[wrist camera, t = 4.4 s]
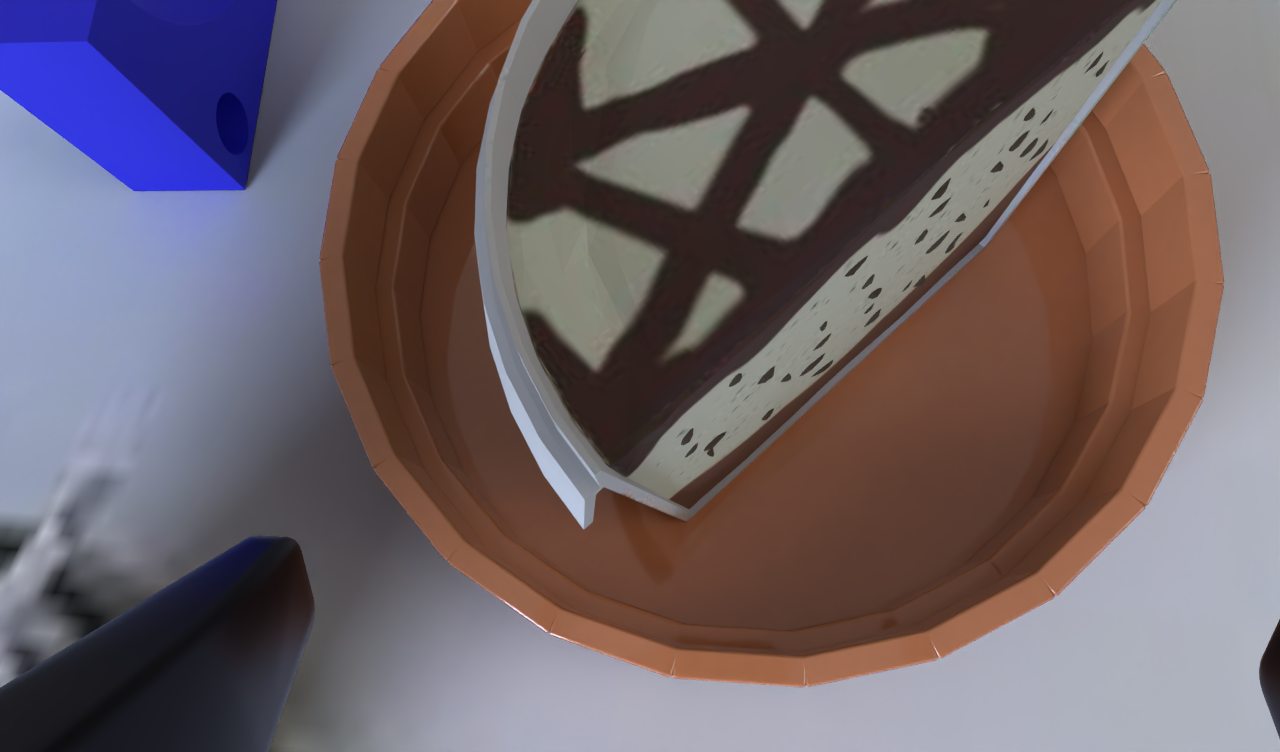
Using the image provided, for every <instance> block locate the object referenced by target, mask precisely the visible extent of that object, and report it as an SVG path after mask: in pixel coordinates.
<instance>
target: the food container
mask: <svg viewBox="0 0 1280 752" xmlns="http://www.w3.org/2000/svg"><path fill="white" fill-rule="evenodd" d="M1175 2H1176V0H532V2H531V4H530V5H529V7H528V9H527V11H526V12H525V14H524V16H523V17H522V19H521V22H520V24H519V27H518V29H517V32H516V35H515V37H514V40H513V42H512V45H511V48H510V50H509V53H508V55H507V58H506V61H505V63H504V66H503V69H502V71H501V74H500V76H499V79H498V83H497V86H496V89H495V91H494V94H493V97H492V99H491V102H490V105H489V109H488V114H487V119H486V124H485V129H484V134H483V139H482V144H481V149H480V153H479V158H478V163H477V170H476V200H475V231H474V236H475V243H476V251H477V259H478V267H479V275H480V283H481V290H482V297H483V303H484V310H485V317H486V324H487V331H488V337H489V344H490V349H491V352H492V355H493V358H494V361H495V364H496V367H497V370H498V373H499V376H500V380H501V383H502V386H503V389H504V392H505V395H506V398H507V401H508V404H509V407H510V411H511V413H512V415H513V417H514V419H515V421H516V423H517V425H518V427H519V428H520V430H521V432H522V434H523V436H524V438H525V440H526V442H527V444H528V446H529V448H530V450H531V452H532V454H533V456H534V457H535V459H536V461H537V463H538V465H539V467H540V469H541V471H542V473H543V475H544V476H545V478H546V479H547V481H548V482H549V483H550V485H551V486H552V487H553V489H554V490H555V491H556V493H557V494H558V495H559V497H560V498H561V500H562V501H563V502H564V504H565V505H566V506H567V508H568V509H569V510H570V512H571V513H572V514H573V516H574V517H575V519H576V520H577V521H578V523H579V524H580V525H581V527H582V528H583V529H585V528H586V527H588V526H589V525H590V524H591V523H592V522H593V517H594V508H595V499H596V494H597V493H598V492H599V491H600V490H601V489H602V488H603V487H605V488H607V489H610V490H612V491H614V492H617V493H619V494H621V495H624V496H626V497H629V498H631V499H633V500H636V501H638V502H640V503H643V504H645V505H647V506H650V507H652V508H655V509H657V510H659V511H662V512H664V513H666V514H669V515H671V516H673V517H676V518H678V519H680V520H683V521H685V522H687V521H688V520H689V519H691V518H692V517H693V516H694V515H695V514H696V513H697V512H698V511H699V510H700V509H701V508H703V507H704V506H705V505H706V504H707V503H708V502H709V501H710V500H711V499H712V498H713V497H714V496H716V495H717V494H718V493H719V492H720V491H721V490H722V489H723V488H724V487H725V486H726V485H728V484H729V483H730V482H731V481H732V480H733V479H734V478H735V477H736V476H737V475H738V474H739V473H741V472H742V471H743V470H744V469H745V468H746V467H747V466H748V465H749V464H750V463H751V462H753V461H754V460H755V459H756V458H757V457H758V456H759V455H760V454H761V453H762V452H763V451H765V450H766V449H767V448H768V447H769V446H770V445H771V444H772V443H773V442H774V441H775V440H776V439H778V438H779V437H780V436H781V435H782V434H783V433H784V432H785V431H786V430H787V429H788V428H790V427H791V426H792V425H793V424H794V423H795V422H796V421H797V420H798V419H799V418H800V417H801V416H803V415H804V414H805V413H806V412H807V411H808V410H809V409H810V408H811V407H812V406H813V405H815V404H816V403H817V402H818V401H819V400H820V399H821V398H822V397H823V396H824V395H825V394H826V393H828V392H829V391H830V390H831V389H832V388H833V387H834V386H835V385H836V384H837V383H838V382H840V381H841V380H842V379H843V378H844V377H845V376H846V375H847V374H848V373H849V372H850V371H851V370H853V369H854V368H855V367H856V366H857V365H858V364H859V363H860V362H861V361H862V360H863V359H865V358H866V357H867V356H868V355H869V354H870V353H871V352H872V351H873V350H874V349H875V348H876V347H878V346H879V345H880V344H881V343H882V342H883V341H884V340H885V339H886V338H887V337H888V336H890V335H891V334H892V333H893V332H894V331H895V330H896V329H897V328H898V327H899V326H900V325H901V324H903V323H904V322H905V321H906V320H907V319H908V318H909V317H910V316H911V315H912V314H913V313H915V312H916V311H917V310H918V309H919V308H920V307H921V306H922V305H923V304H924V303H925V302H926V301H928V300H929V299H930V298H931V297H932V296H933V295H934V294H935V293H936V292H937V291H938V290H940V289H941V288H942V287H943V286H944V285H945V284H946V283H947V282H948V281H949V280H950V279H952V278H953V277H954V276H955V275H956V274H957V273H958V272H959V271H960V270H961V269H962V268H963V267H965V266H966V265H967V264H968V263H969V262H970V261H971V260H972V259H973V258H974V257H975V256H977V255H978V254H979V253H980V252H981V251H982V250H983V249H984V248H985V247H986V246H987V245H988V244H989V243H990V241H991V240H992V239H993V238H994V236H995V235H996V234H997V232H998V231H999V230H1000V228H1001V227H1002V226H1003V225H1004V223H1005V222H1006V221H1007V219H1008V218H1009V217H1010V215H1011V214H1012V213H1013V212H1014V210H1015V209H1016V208H1017V206H1018V205H1019V204H1020V203H1021V201H1022V200H1023V199H1024V197H1025V196H1026V195H1027V193H1028V192H1029V191H1030V190H1031V188H1032V187H1033V186H1034V184H1035V183H1036V182H1037V180H1038V179H1039V178H1040V177H1041V175H1042V174H1043V173H1044V171H1045V170H1046V169H1047V168H1048V166H1049V165H1050V164H1051V162H1052V161H1053V160H1054V158H1055V157H1056V156H1057V155H1058V153H1059V152H1060V151H1061V149H1062V148H1063V147H1064V145H1065V144H1066V143H1067V142H1068V140H1069V139H1070V138H1071V136H1072V135H1073V134H1074V133H1075V131H1076V130H1077V129H1078V127H1079V126H1080V125H1081V123H1082V122H1083V121H1084V120H1085V118H1086V117H1087V116H1088V114H1089V113H1090V112H1091V110H1092V109H1093V108H1094V107H1095V105H1096V104H1097V103H1098V101H1099V100H1100V99H1101V98H1102V96H1103V95H1104V94H1105V92H1106V91H1107V90H1108V88H1109V87H1110V86H1111V85H1112V83H1113V82H1114V81H1115V79H1116V78H1117V77H1118V75H1119V74H1120V73H1121V72H1122V70H1123V69H1124V68H1125V66H1126V65H1127V64H1128V63H1129V61H1130V60H1131V59H1132V57H1133V56H1134V55H1135V53H1136V52H1137V51H1138V50H1139V48H1140V47H1141V46H1142V44H1143V43H1144V42H1145V40H1146V39H1147V38H1148V37H1149V35H1150V34H1151V33H1152V31H1153V30H1154V29H1155V28H1156V26H1157V25H1158V24H1159V22H1160V21H1161V20H1162V18H1163V17H1164V16H1165V15H1166V13H1167V12H1168V11H1169V9H1170V8H1171V7H1172V5H1173V4H1174V3H1175Z"/></svg>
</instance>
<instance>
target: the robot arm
mask: <svg viewBox="0 0 1280 752" xmlns="http://www.w3.org/2000/svg"><path fill="white" fill-rule="evenodd" d="M314 610H315V608H314V598H313V594H312V590H311V586H310V582H309V579H308V575H307V571H306V567H305V563H304V559H303V555H302V551H301V549H300V546H299V544H298V543H297V542H296V541H295V540H294V539H292V538H289V537H279V536H261V535H259V536H252V537H249V538H247V539H245V540H243V541H241V542H240V543H238V544H237V545H235V546H233V547H232V548H230V549H228V550H227V551H225V552H223V553H222V554H220V555H218V556H217V557H215V558H213V559H212V560H210V561H208V562H207V563H205V564H204V565H202V566H200V567H199V568H197V569H195V570H194V571H192V572H190V573H189V574H187V575H185V576H184V577H182V578H180V579H179V580H177V581H175V582H174V583H172V584H171V585H169V586H167V587H166V588H164V589H162V590H161V591H159V592H157V593H156V594H154V595H152V596H151V597H149V598H147V599H146V600H144V601H142V602H141V603H139V604H138V605H136V606H134V607H133V608H131V609H129V610H128V611H126V612H124V613H123V614H121V615H119V616H118V617H116V618H114V619H113V620H111V621H109V622H108V623H106V624H105V625H103V626H101V627H100V628H98V629H96V630H95V631H93V632H91V633H90V634H88V635H86V636H85V637H83V638H81V639H80V640H78V641H77V642H75V643H73V644H72V645H70V646H68V647H67V648H65V649H63V650H62V651H60V652H58V653H57V654H55V655H53V656H52V657H50V658H48V659H47V660H45V661H44V662H42V663H40V664H39V665H37V666H35V667H34V668H32V669H30V670H29V671H27V672H25V673H24V674H22V675H20V676H19V677H17V678H15V679H14V680H12V681H10V682H9V683H7V684H6V685H4V686H2V687H1V688H0V752H268V751H269V748H270V746H271V743H272V740H273V737H274V734H275V731H276V728H277V725H278V723H279V720H280V717H281V714H282V711H283V708H284V705H285V702H286V699H287V697H288V694H289V691H290V688H291V685H292V682H293V679H294V676H295V674H296V671H297V668H298V665H299V662H300V659H301V656H302V653H303V651H304V648H305V645H306V642H307V639H308V636H309V633H310V630H311V627H312V624H313V619H314ZM1259 678H1260V684H1261V688H1262V692H1263V694H1264V697H1265V700H1266V703H1267V705H1268V708H1269V711H1270V713H1271V716H1272V719H1273V722H1274V724H1275V727H1276V730H1277V732H1278V735H1279V738H1280V620H1279V622H1278V624H1277V626H1276V628H1275V631H1274V633H1273V635H1272V637H1271V639H1270V641H1269V643H1268V646H1267V648H1266V650H1265V652H1264V654H1263V656H1262V659H1261V662H1260V669H1259Z"/></svg>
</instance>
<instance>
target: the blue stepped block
mask: <svg viewBox="0 0 1280 752" xmlns="http://www.w3.org/2000/svg"><path fill="white" fill-rule="evenodd" d="M276 3H277V0H0V90H1V91H3V92H4V93H5V94H7V95H8V96H9V97H11V98H12V99H13V100H14V101H16V102H17V103H18V104H20V105H21V106H22V107H24V108H25V109H26V110H28V111H29V112H30V113H32V114H33V115H34V116H36V117H37V118H38V119H40V120H41V121H42V122H44V123H45V124H46V125H48V126H49V127H50V128H51V129H53V130H54V131H55V132H57V133H58V134H59V135H61V136H62V137H63V138H65V139H66V140H67V141H69V142H70V143H71V144H73V145H74V146H75V147H77V148H78V149H79V150H81V151H82V152H83V153H84V154H86V155H87V156H88V157H90V158H91V159H92V160H94V161H95V162H96V163H98V164H99V165H100V166H102V167H103V168H104V169H106V170H107V171H108V172H110V173H111V174H112V175H114V176H115V177H116V178H118V179H119V180H120V181H121V182H123V183H124V184H125V185H127V186H128V187H129V188H131V189H132V190H133V191H181V190H245V189H246V183H247V177H248V171H249V165H250V159H251V153H252V147H253V141H254V135H255V129H256V123H257V117H258V111H259V105H260V99H261V93H262V87H263V81H264V75H265V69H266V63H267V57H268V51H269V45H270V39H271V33H272V27H273V21H274V15H275V9H276Z"/></svg>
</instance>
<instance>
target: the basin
mask: <svg viewBox="0 0 1280 752" xmlns="http://www.w3.org/2000/svg"><path fill="white" fill-rule="evenodd" d="M531 2H532V0H433V1H432V2H431V3H430V4H429V5H428V7H427V8H426V9H425V10H424V12H423V13H422V14H421V15H420V17H419V18H418V19H417V20H416V22H415V23H414V24H413V25H412V27H411V28H410V29H409V30H408V31H407V33H406V34H405V35H404V36H403V38H402V39H401V40H400V41H399V43H398V44H397V45H396V46H395V48H394V49H393V50H392V51H391V52H390V54H389V55H388V56H387V57H386V59H385V60H384V61H383V62H382V64H381V65H380V68H379V69H378V70H377V72H376V74H375V76H374V78H373V80H372V83H371V85H370V87H369V89H368V91H367V93H366V96H365V98H364V100H363V102H362V104H361V106H360V109H359V111H358V113H357V115H356V117H355V119H354V122H353V124H352V126H351V128H350V130H349V132H348V135H347V137H346V139H345V141H344V143H343V145H342V148H341V150H340V152H339V154H338V157H337V159H338V160H336V164H335V170H334V176H333V182H332V188H331V193H330V199H329V205H328V211H327V217H326V223H325V229H324V234H323V240H322V246H321V252H320V260H321V261H320V273H321V282H322V291H323V301H324V310H325V319H326V329H327V338H328V347H329V357H330V364H331V365H332V371H333V374H334V376H335V378H336V381H337V383H338V386H339V388H340V391H341V393H342V396H343V398H344V400H345V403H346V405H347V408H348V410H349V413H350V415H351V417H352V420H353V422H354V425H355V427H356V430H357V432H358V435H359V437H360V439H361V442H362V444H363V447H364V449H365V452H366V454H367V456H368V459H369V461H370V464H371V466H372V467H373V468H374V471H375V473H376V474H377V475H378V477H379V478H380V479H381V480H382V482H383V483H384V484H385V485H386V487H387V488H388V489H389V490H390V492H391V493H392V494H393V495H394V497H395V498H396V499H397V500H398V502H399V503H400V504H401V506H402V507H403V508H404V509H405V511H406V512H407V513H408V514H409V516H410V517H411V518H412V519H413V521H414V522H415V523H416V524H417V526H418V527H419V528H420V529H421V531H422V532H423V533H424V534H425V536H426V537H427V538H428V539H429V541H430V542H431V543H432V544H433V546H434V547H435V548H436V549H437V551H438V552H439V553H440V554H441V556H442V557H443V558H444V559H445V560H447V561H448V563H449V564H450V565H451V566H453V567H454V568H456V569H457V570H459V571H460V572H461V573H463V574H464V575H466V576H467V577H468V578H470V579H471V580H473V581H474V582H475V583H477V584H478V585H480V586H481V587H482V588H484V589H485V590H487V591H488V592H489V593H491V594H492V595H494V596H495V597H497V598H498V599H499V600H501V601H502V602H504V603H505V604H506V605H508V606H509V607H511V608H512V609H513V610H515V611H516V612H518V613H519V614H520V615H522V616H523V617H525V618H526V619H527V620H529V621H530V622H532V623H533V624H535V625H536V626H537V627H539V628H540V629H542V630H543V631H544V632H547V633H550V634H551V635H552V636H554V637H557V638H560V639H563V640H566V641H568V642H571V643H574V644H577V645H580V646H582V647H585V648H588V649H591V650H594V651H596V652H599V653H602V654H605V655H608V656H610V657H613V658H616V659H619V660H622V661H625V662H627V663H630V664H633V665H636V666H639V667H641V668H644V669H647V670H650V671H653V672H655V673H658V674H661V675H664V676H667V677H672V676H673V678H675V679H689V680H703V681H718V682H732V683H747V684H761V685H776V686H791V687H805V686H809V687H812V686H816V685H821V684H826V683H831V682H835V681H840V680H845V679H850V678H854V677H859V676H864V675H869V674H873V673H878V672H883V671H888V670H893V669H897V668H902V667H907V666H912V665H916V664H921V663H926V662H931V661H935V660H937V659H938V658H943V657H945V656H947V655H949V654H951V653H953V652H954V651H956V650H958V649H960V648H962V647H964V646H966V645H968V644H969V643H971V642H973V641H975V640H977V639H979V638H981V637H983V636H984V635H986V634H988V633H990V632H992V631H994V630H996V629H998V628H999V627H1001V626H1003V625H1005V624H1007V623H1009V622H1011V621H1013V620H1014V619H1016V618H1018V617H1020V616H1022V615H1024V614H1026V613H1028V612H1029V611H1031V610H1033V609H1035V608H1037V607H1039V606H1041V605H1043V604H1044V603H1046V602H1048V601H1050V600H1052V599H1053V598H1054V597H1055V596H1057V595H1059V594H1060V593H1061V592H1062V591H1063V590H1064V589H1065V588H1066V587H1067V586H1068V585H1069V584H1070V583H1071V582H1072V581H1073V580H1074V579H1075V578H1076V577H1077V576H1078V575H1079V574H1080V573H1081V572H1082V571H1083V570H1084V569H1085V568H1086V567H1087V566H1088V565H1089V564H1090V563H1091V562H1092V561H1093V560H1094V559H1095V558H1096V557H1097V556H1098V555H1099V554H1100V553H1101V552H1102V551H1103V550H1104V549H1105V548H1106V547H1107V546H1108V545H1109V544H1110V543H1111V542H1112V541H1113V540H1114V539H1115V538H1116V537H1117V536H1118V535H1119V534H1120V533H1121V532H1122V531H1123V530H1124V529H1125V528H1126V527H1127V526H1128V525H1129V524H1130V523H1131V522H1132V521H1133V520H1134V519H1135V518H1136V517H1137V516H1138V515H1139V514H1140V513H1141V512H1142V511H1143V510H1144V509H1145V506H1147V505H1148V504H1149V502H1150V500H1151V498H1152V496H1153V494H1154V492H1155V491H1156V489H1157V487H1158V485H1159V483H1160V481H1161V479H1162V477H1163V475H1164V473H1165V472H1166V470H1167V468H1168V466H1169V464H1170V462H1171V460H1172V458H1173V456H1174V454H1175V453H1176V451H1177V449H1178V447H1179V445H1180V443H1181V441H1182V439H1183V437H1184V435H1185V434H1186V432H1187V430H1188V428H1189V426H1190V424H1191V422H1192V420H1193V418H1194V417H1195V415H1196V413H1197V411H1198V409H1199V407H1200V405H1201V403H1202V400H1203V399H1202V398H1203V397H1204V393H1205V388H1206V382H1207V376H1208V371H1209V365H1210V360H1211V354H1212V349H1213V343H1214V338H1215V332H1216V327H1217V321H1218V315H1219V310H1220V304H1221V299H1222V293H1223V288H1224V287H1223V285H1222V284H1223V283H1224V277H1223V269H1222V261H1221V253H1220V245H1219V237H1218V229H1217V221H1216V213H1215V205H1214V197H1213V189H1212V181H1211V175H1210V174H1209V169H1208V166H1207V164H1206V162H1205V159H1204V157H1203V155H1202V152H1201V150H1200V148H1199V146H1198V143H1197V141H1196V139H1195V136H1194V134H1193V132H1192V129H1191V127H1190V125H1189V123H1188V120H1187V118H1186V116H1185V113H1184V111H1183V109H1182V107H1181V104H1180V102H1179V100H1178V97H1177V95H1176V93H1175V90H1174V88H1173V86H1172V84H1171V81H1170V79H1169V77H1168V75H1167V74H1166V73H1165V70H1164V68H1163V67H1162V66H1161V65H1160V63H1159V62H1158V61H1157V60H1156V59H1155V57H1154V56H1153V55H1152V54H1151V52H1150V51H1149V50H1148V49H1147V47H1146V46H1145V45H1144V44H1142V46H1141V47H1140V48H1139V50H1138V51H1137V52H1136V53H1135V55H1134V56H1133V57H1132V59H1131V60H1130V61H1129V63H1128V64H1127V65H1126V66H1125V68H1124V69H1123V70H1122V72H1121V73H1120V74H1119V75H1118V77H1117V78H1116V79H1115V81H1114V82H1113V83H1112V85H1111V86H1110V87H1109V88H1108V90H1107V91H1106V92H1105V94H1104V95H1103V96H1102V98H1101V99H1100V100H1099V101H1098V103H1097V104H1096V105H1095V107H1094V108H1093V109H1092V110H1091V112H1090V113H1089V114H1088V116H1087V117H1086V118H1085V120H1084V121H1083V122H1082V123H1081V125H1080V126H1079V127H1078V129H1077V130H1076V131H1075V133H1074V134H1073V135H1072V136H1071V138H1070V139H1069V140H1068V142H1067V143H1066V144H1065V145H1064V147H1063V148H1062V149H1061V151H1060V152H1059V153H1058V155H1057V156H1056V157H1055V158H1054V160H1053V161H1052V162H1051V164H1050V165H1049V166H1048V168H1047V169H1046V170H1045V171H1044V173H1043V174H1042V175H1041V177H1040V178H1039V179H1038V180H1037V182H1036V183H1035V184H1034V186H1033V187H1032V188H1031V190H1030V191H1029V192H1028V193H1027V195H1026V196H1025V197H1024V199H1023V200H1022V201H1021V203H1020V204H1019V205H1018V206H1017V208H1016V209H1015V210H1014V212H1013V213H1012V214H1011V215H1010V217H1009V218H1008V219H1007V221H1006V222H1005V223H1004V225H1003V226H1002V227H1001V228H1000V230H999V231H998V232H997V234H996V235H995V236H994V238H993V239H992V240H991V241H990V243H989V244H988V245H987V246H986V247H985V248H984V249H983V250H982V251H981V252H980V253H979V254H978V255H977V256H975V257H974V258H973V259H972V260H971V261H970V262H969V263H968V264H967V265H966V266H965V267H963V268H962V269H961V270H960V271H959V272H958V273H957V274H956V275H955V276H954V277H953V278H952V279H950V280H949V281H948V282H947V283H946V284H945V285H944V286H943V287H942V288H941V289H940V290H938V291H937V292H936V293H935V294H934V295H933V296H932V297H931V298H930V299H929V300H928V301H926V302H925V303H924V304H923V305H922V306H921V307H920V308H919V309H918V310H917V311H916V312H915V313H913V314H912V315H911V316H910V317H909V318H908V319H907V320H906V321H905V322H904V323H903V324H901V325H900V326H899V327H898V328H897V329H896V330H895V331H894V332H893V333H892V334H891V335H890V336H888V337H887V338H886V339H885V340H884V341H883V342H882V343H881V344H880V345H879V346H878V347H876V348H875V349H874V350H873V351H872V352H871V353H870V354H869V355H868V356H867V357H866V358H865V359H863V360H862V361H861V362H860V363H859V364H858V365H857V366H856V367H855V368H854V369H853V370H851V371H850V372H849V373H848V374H847V375H846V376H845V377H844V378H843V379H842V380H841V381H840V382H838V383H837V384H836V385H835V386H834V387H833V388H832V389H831V390H830V391H829V392H828V393H826V394H825V395H824V396H823V397H822V398H821V399H820V400H819V401H818V402H817V403H816V404H815V405H813V406H812V407H811V408H810V409H809V410H808V411H807V412H806V413H805V414H804V415H803V416H801V417H800V418H799V419H798V420H797V421H796V422H795V423H794V424H793V425H792V426H791V427H790V428H788V429H787V430H786V431H785V432H784V433H783V434H782V435H781V436H780V437H779V438H778V439H776V440H775V441H774V442H773V443H772V444H771V445H770V446H769V447H768V448H767V449H766V450H765V451H763V452H762V453H761V454H760V455H759V456H758V457H757V458H756V459H755V460H754V461H753V462H751V463H750V464H749V465H748V466H747V467H746V468H745V469H744V470H743V471H742V472H741V473H739V474H738V475H737V476H736V477H735V478H734V479H733V480H732V481H731V482H730V483H729V484H728V485H726V486H725V487H724V488H723V489H722V490H721V491H720V492H719V493H718V494H717V495H716V496H714V497H713V498H712V499H711V500H710V501H709V502H708V503H707V504H706V505H705V506H704V507H703V508H701V509H700V510H699V511H698V512H697V513H696V514H695V515H694V516H693V517H692V518H691V519H689V520H688V521H687V522H685V521H683V520H680V519H678V518H676V517H673V516H671V515H669V514H666V513H664V512H662V511H659V510H657V509H655V508H652V507H650V506H647V505H645V504H643V503H640V502H638V501H636V500H633V499H631V498H629V497H626V496H624V495H621V494H619V493H617V492H614V491H612V490H610V489H607V488H605V487H603V488H602V489H601V490H600V491H599V492H598V493H597V494H596V499H595V508H594V517H593V522H592V523H591V524H590V525H589V526H588V527H586V528H585V529H583V528H582V527H581V525H580V524H579V523H578V521H577V520H576V519H575V517H574V516H573V514H572V513H571V512H570V510H569V509H568V508H567V506H566V505H565V504H564V502H563V501H562V500H561V498H560V497H559V495H558V494H557V493H556V491H555V490H554V489H553V487H552V486H551V485H550V483H549V482H548V481H547V479H546V478H545V476H544V475H543V473H542V471H541V469H540V467H539V465H538V463H537V461H536V459H535V457H534V456H533V454H532V452H531V450H530V448H529V446H528V444H527V442H526V440H525V438H524V436H523V434H522V432H521V430H520V428H519V427H518V425H517V423H516V421H515V419H514V417H513V415H512V413H511V411H510V407H509V404H508V401H507V398H506V395H505V392H504V389H503V386H502V383H501V380H500V376H499V373H498V370H497V367H496V364H495V361H494V358H493V355H492V352H491V349H490V344H489V337H488V331H487V324H486V317H485V310H484V303H483V297H482V290H481V283H480V275H479V267H478V259H477V251H476V243H475V236H474V231H475V200H476V170H477V163H478V158H479V153H480V149H481V144H482V139H483V134H484V129H485V124H486V119H487V114H488V109H489V105H490V102H491V99H492V97H493V94H494V91H495V89H496V86H497V83H498V79H499V76H500V74H501V71H502V69H503V66H504V63H505V61H506V58H507V55H508V53H509V50H510V48H511V45H512V42H513V40H514V37H515V35H516V32H517V29H518V27H519V24H520V22H521V19H522V17H523V16H524V14H525V12H526V11H527V9H528V7H529V5H530V4H531Z"/></svg>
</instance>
